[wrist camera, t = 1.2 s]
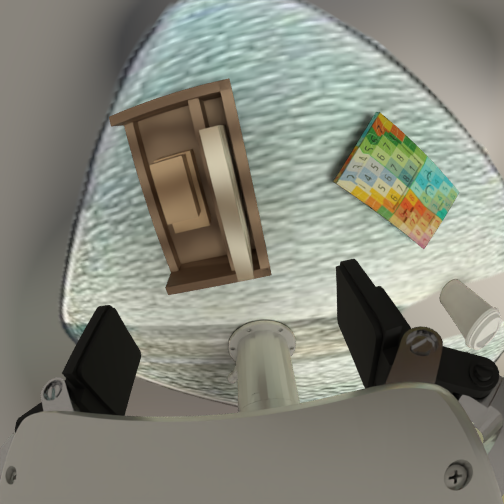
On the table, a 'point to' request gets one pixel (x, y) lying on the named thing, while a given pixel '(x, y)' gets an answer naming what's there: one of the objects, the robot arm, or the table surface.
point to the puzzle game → (397, 180)
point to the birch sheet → (228, 198)
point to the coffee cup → (470, 314)
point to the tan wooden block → (181, 191)
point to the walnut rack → (188, 137)
